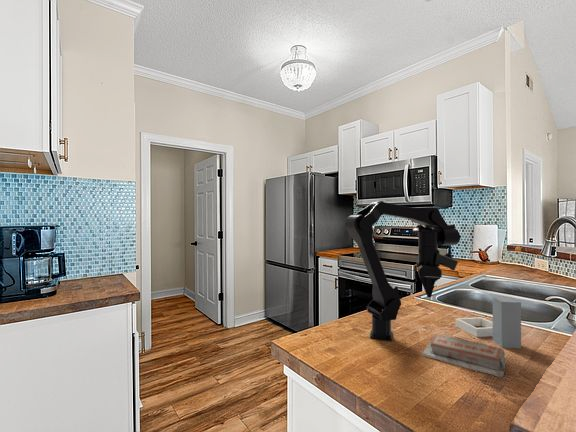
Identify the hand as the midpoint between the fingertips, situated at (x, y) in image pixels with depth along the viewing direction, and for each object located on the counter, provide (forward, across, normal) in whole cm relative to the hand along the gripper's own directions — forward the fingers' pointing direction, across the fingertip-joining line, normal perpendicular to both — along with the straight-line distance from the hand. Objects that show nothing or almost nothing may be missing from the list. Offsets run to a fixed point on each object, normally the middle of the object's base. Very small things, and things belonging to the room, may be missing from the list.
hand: (428, 293), depth 100 cm
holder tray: (+12, +6, -16) cm, 20 cm away
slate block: (+12, -4, -20) cm, 24 cm away
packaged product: (+13, -18, -7) cm, 24 cm away
